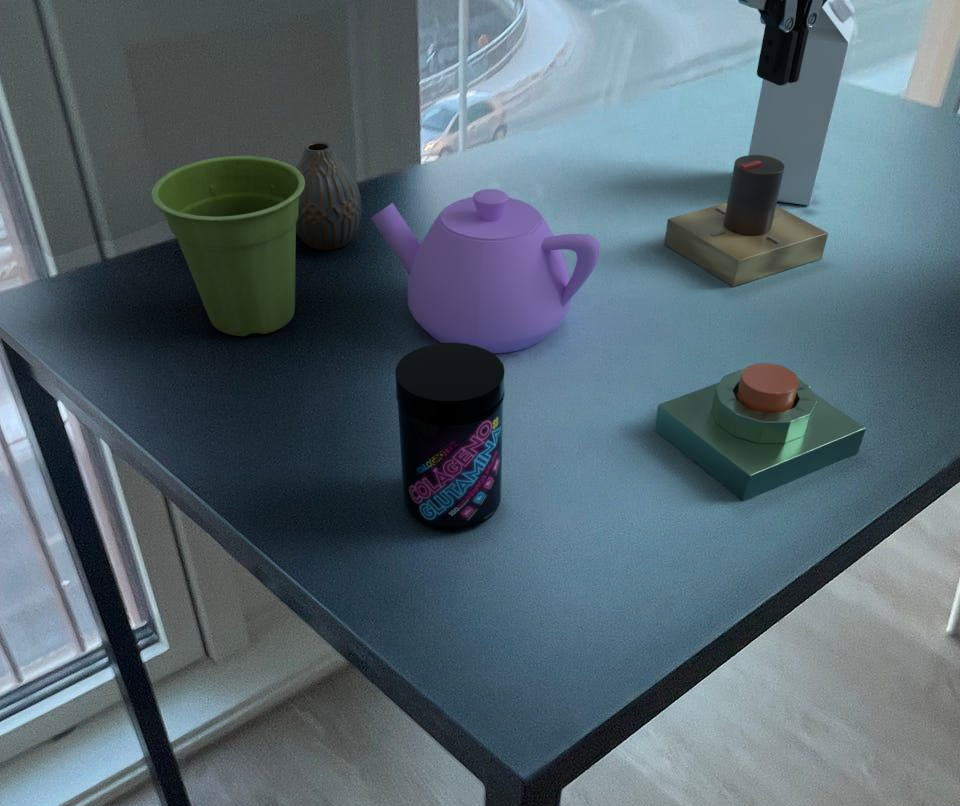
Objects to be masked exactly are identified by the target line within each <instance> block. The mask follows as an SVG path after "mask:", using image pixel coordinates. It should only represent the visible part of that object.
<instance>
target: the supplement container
mask: <svg viewBox="0 0 960 806" xmlns="http://www.w3.org/2000/svg"><path fill="white" fill-rule="evenodd" d="M394 372H395V385H396V386H395V388H396V389H395V396H396V397H395V399H396V401H397V413H398V416H397V417H398V428H399V445H400V460H401V461H400V462H401V463H400V464H401V477H402V478H401V479H402V493H403V494H402V496H403V503H404V506H405V508H406V510H407V513H408V514H409V515H410V516H411V517H412V518H413V519H414V520H415V521H417V522H418V523H419V524H421V525H422V526H424V527H427V528H429V529H431V530H435V531H439V532H445V533H447V532H448V533H456V532H457V533H458V532H464V531H465V532H466V531H469V530H472V529H475V528H477V527H479V526H482V525H483V524H485V523H486V522H488V521H489V520H490V519H491V518H492V517H493V516H494V515H495V513H496V512H497V510H498V508H499V506H500V504H501V500H502V471H503V470H502V465H503V432H504V431H503V427H504V424H503V423H504V399H505V375H506V374H505V366H504V364H503V362H502V360H501V359H500V358H499V357H498V356H497V355H496V354H495V353H491V352H490V351H488V350H486V349H483V348H481V347H478V346H474V345H470V344H464V343H441V342H436V343H431V344H427V345H423V346H420V347H418V348H415V349H413V350H412V351H409V352H408V353H406V354H404V356H402V357H401V359H399V361H398V363H397V364H396V367H395V371H394Z"/></svg>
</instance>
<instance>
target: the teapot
mask: <svg viewBox="0 0 960 806" xmlns="http://www.w3.org/2000/svg"><path fill="white" fill-rule="evenodd" d="M370 219H371V221H372V222H373V224H374V225H375V227H376V229H377V230H378V231H379V233H380V234H381V236H382V237H383V239H384V240H385V242H386V244H387V245H388V246H389V247H390V250H391V251H392V252H393V253H394V255H395V256H396V258H397V259H398V261H399V263H400V264H401V265H402V267H403V268H404V270H405V271H406V272H407V274H408V276H409V277H408V283H407V305H408V309H409V311H410V313H411V315H412V318H413V319H414V320H415V321H416V322H417V323H418V324H419V326H421V328H422V329H423V330H424V331H425V332H426V333H428V334H429V336H431V337H432V338H433V339H435V340H436V341H437V342H438V343H464V344H470V345H474V346H478V347H481V348H483V349H486V350H488V351H490V352H491V353H493V354H507V353H513V352H517V351H522V350H525V349H528V348H531V347H533V346H534V345H537V344H538V343H540V342H542V341H543V340H545V339H546V338H547V337H548V336H549V335H551V334H552V333H553V332H554V331H556V329H557V328H558V327H559V326H560V324H561V323H562V322H563V321H564V320H565V318H566V317H567V315H568V313H569V311H570V308H571V306H572V304H571V303H572V301H571V300H572V298H573V297H574V296H575V295H576V294H577V293H578V291H579V290H580V289H581V288H582V287H583V285H584V284H585V283H586V282H587V280H588V279H589V277H590V276H591V275H592V273H593V272H594V270H595V268H596V266H597V262H598V260H599V256H600V251H601V246H600V243H599V242H598V240H597V238H595V237H594V236H592V235H589V234H584V233H566V234H564V233H563V234H557V235H554V233H553V231H552V229H551V227H550V226H549V224H548V223H547V221H546V219H545V218H544V217H543V215H542V213H540V211H539V210H538V209H537V208H535V207H534V206H533V205H532V204H529V202H528V203H527V202H526V201H523V200H520V199H517V198H513V197H509V195H508V193H507V192H505V191H502V190H499V189H496V188H485V189H481V190H478V191H476V192H474V193H473V195H472V196H470V197H466V198H461V199H460V200H456V201H454V202H452V203H450V204H449V205H447V206H446V207H445V208H443V209H442V211H441V212H440V213H439V214H438V215H437V217H436V218H435V220H434V221H433V222H432V224H431V225H430V228H429V229H428V231H427V232H426V235H425V236H424V238H423V239H422V241H421V243H420V241H419V240H418V239H417V237H416V236H415V234H414V232H413V230H412V229H411V228H410V226H409V224H407V222H406V221H405V219H404V218H403V216H402V215H401V212H399V210H398V208H397V206H396V205H395V204H394V203H393V202H391V203H390V204H389V205H387V206H386V207H384V208H383V209H382V210H380V211H378V212H377V213H375V214H374V215H373V216H371V218H370ZM562 250H568V251H572V252H574V253H575V254H576V263H575V266H574V269H573V271H572V275H571V276H570V272H569V268H568V263H567V261H566V258H565V255H564V253H563V251H562Z"/></svg>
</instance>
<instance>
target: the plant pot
mask: <svg viewBox="0 0 960 806" xmlns="http://www.w3.org/2000/svg"><path fill="white" fill-rule="evenodd" d="M295 167H296V166H293V165H291V164H290V163H287V162H286V161H285V162H284V161H281V160H278V159H275V158H271V157H265V156H255V155H231V156H229V155H228V156H221V157H213V158H208V159H202V160H198V161H194V162H192V163H189V164H184V165H182V166H180V167H178V168H175V169H173V170H171V171H169V172H167V173H166V174H165V175H164V176H162V177H161V178H159V179H158V180H157V181H156V183H155V184H154V185H153V187H152V189H151V191H150V192H151V193H150V196H151V200H152V202H153V204H154V205H155V206H156V208H157V209H159V211H161V212H162V213H163V214H164V217H165V219H166V222H167V224H168V226H169V229H170V230H171V233H172V234H173V235H174V236H175V237H176V240H177V242H178V244H179V246H180V249H181V252H182V254H183V256H184V259H185V261H186V264H187V266H188V269H189V272H190V273H191V276H192V278H193V282H194V284H195V286H196V289H197V292H198V294H199V296H200V299H201V301H202V304H203V307H204V309H205V311H206V314H207V316H208V318H209V321H210V323H211V325H212V326H213V327H214V329H216V330H218V331H220V332H221V333H224V334H225V335H226V334H227V335H230V336H236V337H247V336H249V335H251V334H260V335H261V334H262V335H267V334H271V333H274V332H276V331H279V330H280V329H282V328H284V327H285V326H286V325H288V324H289V323H290V322H291V321H292V319H293V318H294V315H295V310H296V253H297V252H296V249H297V247H296V245H297V241H296V240H297V237H296V236H297V234H296V222H297V219H298V210H299V196H300V195H301V193H302V192H303V190H304V186H305V180H304V177H303V175H302V174H301V172H300V171H299V170H298V169H296V168H295Z"/></svg>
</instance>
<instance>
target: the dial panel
mask: <svg viewBox="0 0 960 806" xmlns="http://www.w3.org/2000/svg"><path fill="white" fill-rule="evenodd" d="M726 207H727V202H723V203H720V204H716V205H713V206H709V207H705V208H702V209H698V210H694V211H692V212H688V213H684V214H680V215H676V216H674V217H670V218H667V222H666V230H665V237H664V242H663V243H664V245H665V246H666V247H667V248H670V249H671V250H673V251H674V252H676V253H677V254H679V255H681V256H683V257H684V258H686V259H687V260H689V261H690V262H692V263H693V264H695V265H697V266H699V267H700V268H702V269H703V270H705V271H707V272H708V273H710V274H712V275H713V276H715V277H716V278H717V279H720V280H721V281H723V282H724V283H726V284H728V285H729V286H731V287H733V288H735V287H737V286H740V285H744V284H746V283H750V282H752V281H756V280H759V279H762V278H766V277H768V276H771V275H774V274H778V273H781V272H784V271H788V270H791V269H794V268H796V267H799V266H803V265H805V264H810V263H813V262H815V261H819V260H821V259H823V255H824V252H825V248H826V245H827V240H828V236H829V232H827V231H826V230H824V229H822V228H820V227H817V226H816V225H814V224H812V223H811V222H809V221H807V220H805V219H803V218H801V217H799V216H797V215H795V214H793V213H792V212H790V211H787V210H786V209H784V208H782V207H780V206H778V205H776V209H775V213H774V218H773V223H772V227H771V230H770V231H769V232H767V233H764V234H761V235H743V234H738V233H735V232H732V231H730V230H729V229H727V228H726V227H725V225H724V218H725V213H726Z"/></svg>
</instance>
